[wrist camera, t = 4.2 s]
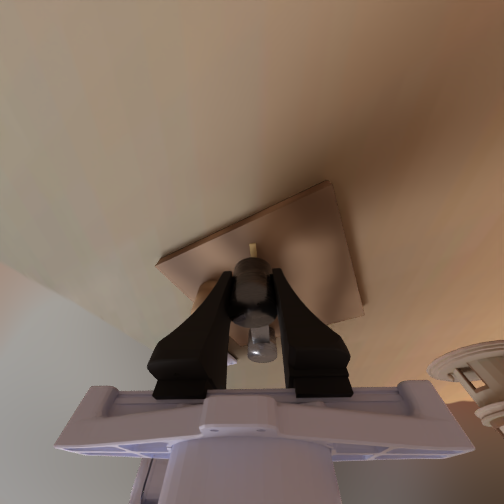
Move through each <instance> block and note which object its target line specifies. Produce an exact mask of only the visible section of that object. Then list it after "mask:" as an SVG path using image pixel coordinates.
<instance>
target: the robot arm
mask: <svg viewBox="0 0 504 504" xmlns="http://www.w3.org/2000/svg"><path fill="white" fill-rule="evenodd" d="M272 275H273V284H274V289H275V297H276V306H277V317H278V322H279V327H280V335H281V344H282V354H283V364H284V374H285V384H286V389H226V378H227V365H232V364H236V363H237V360H236V359H235V358H234V357H233V356H231V355H230V354H229V353H228V343H229V331H230V324H231V320H230V318H229V317H228V306H229V300H230V293H231V286H232V279H233V276H232V271H224V272H223V273H222V275H221V276H220V278H219V280H218V281H217V283H216V285H215V286H214V288H213V289H212V291H211V292H210V293H209V295H208V296H207V297H206V299H205V300H204V301H203V302H202V304H201V305H200V306H199V307H198V308H197V309H196V311H195V312H194V313H193V314H192V315H191V316H190V317H189V318H188V319H187V320H186V321H184V322H183V323H182V324H181V325H180V326H179V327H178V328H176V329H175V330H174V331H173V332H171V333H170V334H169V335H167V336H166V337H165V338H163V339H162V340H161V341H159V342H158V344H157V346H156V347H155V349H154V351H153V353H152V356H151V358H150V360H149V362H148V365H147V369H148V370H149V372H150V373H151V374H152V375H153V376H154V377H155V378H156V379H157V380H158V381H157V384H156V386H155V389H154V391H119V390H118V389H117V388H115V387H113V386H91V387H90V388H89V390H88V392H87V393H86V395H85V396H84V398H83V400H82V401H81V403H80V404H79V406H78V407H77V409H76V411H75V412H74V414H73V416H72V417H71V419H70V420H69V422H68V423H67V425H66V427H65V428H64V430H63V431H62V433H61V435H60V436H59V438H58V439H57V441H56V443H55V444H54V448H57V449H61V450H65V451H69V452H74V453H77V454H82V455H86V456H122V457H140V458H142V460H141V463H140V466H139V469H138V472H137V475H136V478H135V482H134V485H133V488H132V491H131V496H130V501H129V504H342V500H341V496H340V492H339V487H338V483H337V479H336V474H335V471H334V466H333V461H358V460H384V459H386V460H387V459H445V458H448V457H452V456H456V455H460V454H463V453H467V452H471V451H474V450H475V447H474V445H473V444H472V443H471V441H470V440H469V438H468V437H467V436H466V434H465V432H464V431H463V429H462V428H461V426H460V425H459V423H458V422H457V420H456V419H455V418H454V416H453V415H452V413H451V412H450V410H449V409H448V407H447V406H446V404H445V403H444V401H443V400H442V398H441V397H440V395H439V394H438V392H437V391H436V390H435V388H434V387H433V385H432V384H431V382H430V381H428V380H407V381H402V382H400V383H399V384H398V385H397V387H353V388H352V387H351V384H350V381H349V379H348V377H349V373H348V371H347V368H346V367H347V365H348V363H349V361H350V357H351V356H350V353H349V351H348V349H347V347H346V345H345V343H344V341H343V340H342V338H341V337H340V336H339V335H338V334H337V333H335V332H334V331H333V330H331V329H330V328H329V327H328V326H327V325H325V324H324V323H323V322H322V321H321V320H320V319H319V318H318V317H316V316H315V315H314V314H313V313H312V312H311V311H310V310H309V309H308V308H307V306H306V305H305V304H304V303H303V302H302V301H301V300H300V298H299V297H298V296H297V294H296V293H295V292H294V290H293V289H292V287H291V286H290V284H289V283H288V281H287V279H286V277H285V276H284V274H283V271H282V269H281V268H272ZM143 491H144V492H143Z"/></svg>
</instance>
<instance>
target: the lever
mask: <svg viewBox="0 0 504 504" xmlns="http://www.w3.org/2000/svg"><path fill="white" fill-rule="evenodd" d="M228 317H229V318H230V320H231V321H232V322H233V323H235V324H237V325H239V326H241V327H245V328H251V329H250V330H249V332H248V358H249V359H250V360H251V361H254V362H258V363H267V362H271V361H274V360H275V359H276V358H277V347H276V336H275V330H274V329H273V328H272V327H270V326H269V324H271V323H272V322H273V321H274V320H275V319H276V317H277V306H276V297H275V289H274V284H273V275H272V267H271V265H270V264H269V263H268V262H267V261H265V260H264V259H261V258H257V257H248V258H245V259H242V260H241V261H239V262H238V263H237V264H236V266H235V268H234V272H233V279H232V286H231V293H230V300H229V306H228Z"/></svg>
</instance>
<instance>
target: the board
mask: <svg viewBox="0 0 504 504" xmlns="http://www.w3.org/2000/svg"><path fill="white" fill-rule="evenodd" d="M248 257H257V258H261V259H264V260H265V261H267V262H268V263H269V264H270V265H271V267H272V268H281V269H282V271H283V274H284V276H285V277H286V279H287V281H288V283H289V284H290V286H291V287H292V289H293V290H294V292H295V293H296V294H297V296H298V297H299V298H300V300H301V301H302V302H303V303H304V304H305V305H306V306H307V308H308V309H309V310H310V311H311V312H312V313H313V314H314V315H315V316H316V317H318V318H319V319H320V320H321V321H322V322H323V323H324V324H325V325H328V324H332V323H336V322H340V321H344V320H348V319H352V318H356V317H360V316H364V315H365V314H364V310H363V306H362V302H361V298H360V294H359V290H358V286H357V282H356V278H355V274H354V270H353V266H352V262H351V258H350V254H349V250H348V246H347V242H346V238H345V233H344V229H343V225H342V221H341V217H340V213H339V209H338V205H337V201H336V197H335V193H334V189H333V185H332V183H330V182H329V181H328V180H326V181H324V182H322V183H320V184H318V185H316V186H313V187H311V188H309V189H307V190H305V191H303V192H301V193H299V194H297V195H294V196H292V197H290V198H288V199H286V200H284V201H282V202H280V203H277V204H275V205H273V206H271V207H269V208H267V209H265V210H263V211H261V212H258V213H256V214H254V215H252V216H250V217H248V218H246V219H244V220H242V221H239V222H237V223H235V224H233V225H231V226H229V227H227V228H225V229H223V230H220V231H218V232H216V233H214V234H212V235H210V236H208V237H206V238H204V239H201V240H199V241H197V242H195V243H193V244H191V245H189V246H187V247H185V248H182V249H180V250H178V251H176V252H174V253H172V254H170V255H168V256H166V257H163V258H161V259H160V260H159V261H158V263H157V264H156V265H155V267H156V268H157V269H158V270H159V271H160V272H162V273H163V274H164V275H165V276H166V277H167V278H168V279H169V280H170V281H171V282H172V283H173V284H174V285H175V286H177V287H178V288H179V289H180V290H181V291H182V292H183V293H184V294H185V295H186V296H187V297H188V298H189V299H190V300H191V301H193V302H194V301H195V298H196V295H197V293H198V290H199V287H200V285H201V284H202V283H204V282H206V281H210V280H219V278H220V276H221V275H222V273H223V272H224V271H232V276H233V272H234V268H235V266H236V264H237V263H238V262H239V261H241V260H242V259H245V258H248ZM269 326H270V327H272V328H273V329H274V330H275V336H276V338H277V337H280V336H281V335H280V327H279V322H278V317H276V319H275V320H274V321H273V322H272V323H271V324H269ZM250 329H251V328H245V327H241V326H239V325H237V324H235V323H233V322H232V321H231V324H230V331H229V336H230V337H231V338H232V339H233V340H234V341H235V342H236V343H237V344H239V345H240V346H245V345H248V332H249V330H250Z"/></svg>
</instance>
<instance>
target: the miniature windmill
mask: <svg viewBox="0 0 504 504" xmlns="http://www.w3.org/2000/svg"><path fill="white" fill-rule="evenodd" d="M427 373H428V374H429V376H430V377H432V378H435V379H437V380H443V381H450V382H460V383H461V385H462V386H463V387H464V388H465V390H466V391H467V392H468V393H469V395H470V396H471V397H472V398H473V400H474V401H475V402H476V404H477V405H478V406H479V407H480V409H478V410H477V411H476V412H475V415H476V416H477V417H479V418H480V419H481V422H482V424H483V425H485V426H489V427H493V428H494V430H495V431H498V432H499V433H500V435H501V436H502V437H503V438H504V340H498V341H491V342H485V343H479V344H475V345H471V346H467V347H463V348H460V349H457V350H455V351H452V352H449V353H447V354H445V355H443V356H441V357H439V358H437V359H436V360H434V361H433V362H432V363H431V364H430V365H429V366H428V368H427ZM477 380H482V381H483V382H484V383H485V386H482V387H479V388H477V389H476V388H475V387H474V386H473V384H472V383H471V382H470V381H477Z"/></svg>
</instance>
